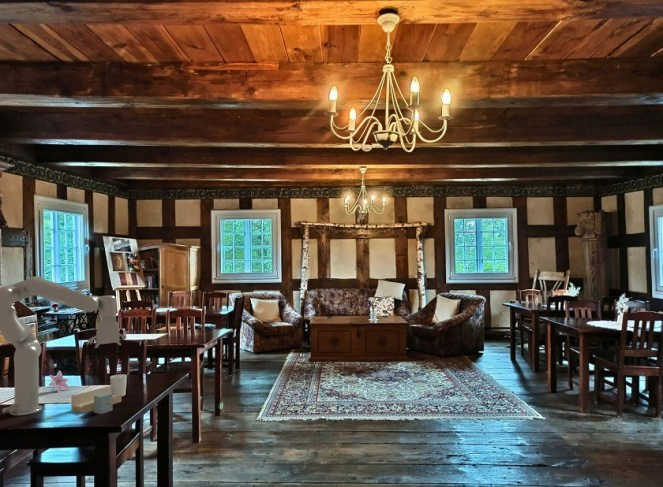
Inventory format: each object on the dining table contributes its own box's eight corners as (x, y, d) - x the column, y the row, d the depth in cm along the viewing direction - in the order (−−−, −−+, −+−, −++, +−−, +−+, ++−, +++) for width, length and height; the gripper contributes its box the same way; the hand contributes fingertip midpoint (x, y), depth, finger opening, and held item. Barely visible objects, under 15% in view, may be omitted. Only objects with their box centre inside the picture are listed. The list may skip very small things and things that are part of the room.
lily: (44, 397, 247) (52, 381, 247) (39, 384, 255) (48, 369, 255) (67, 399, 255) (75, 383, 255) (62, 387, 263) (70, 372, 263)
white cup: (108, 398, 238) (108, 378, 239) (111, 394, 246) (111, 375, 246) (125, 396, 240) (125, 377, 241) (127, 392, 248) (127, 373, 249)
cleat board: (83, 413, 214) (83, 397, 214) (71, 410, 218) (71, 395, 219) (121, 401, 232) (121, 387, 232) (109, 399, 236) (109, 385, 236)
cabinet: (101, 414, 213) (101, 397, 213) (93, 412, 215) (93, 395, 216) (113, 410, 218) (113, 393, 218) (105, 408, 221) (105, 392, 221)
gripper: (89, 322, 226) (89, 358, 226) (127, 319, 237) (127, 353, 236) (87, 321, 232) (87, 355, 232) (124, 318, 243) (124, 351, 242)
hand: (107, 354), depth 234 cm, fingers open, 9 cm apart
